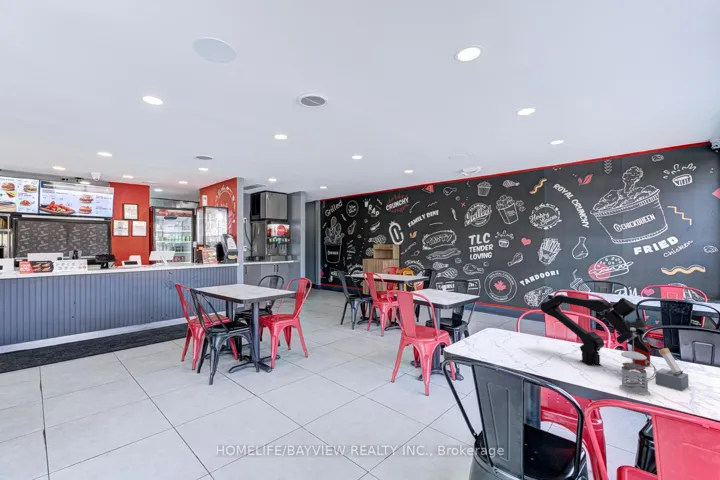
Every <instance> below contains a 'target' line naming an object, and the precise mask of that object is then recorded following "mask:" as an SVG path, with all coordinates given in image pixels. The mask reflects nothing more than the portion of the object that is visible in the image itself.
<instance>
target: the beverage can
mask: <svg viewBox="0 0 720 480" xmlns="http://www.w3.org/2000/svg"><path fill="white" fill-rule="evenodd" d="M643 341H644V342H645V344H646V345H647V347H648V349H649V350H650V352H649V353H647V352H645V351H642V350H640V349H638V348H636V347H634V351H635V352H638V353H640V354H643V355H644V356H646V357H647V359H646V360H647V361H646V360H635V359H634V364H639V365H641V366H644V367H648V366H650V365H651V364H650V363H649V362H651V344H650V342H649V340H646V339H643ZM631 351H633V346H632V345H631ZM631 360H632V362H633V359H631ZM645 361H646V362H647V365H646V364H645ZM648 361H649V362H648Z"/></svg>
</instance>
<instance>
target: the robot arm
mask: <svg viewBox="0 0 720 480" xmlns="http://www.w3.org/2000/svg"><path fill="white" fill-rule="evenodd" d="M562 304H569V305H573V306H579V307H584V308H586V309H589V310H591V311H593V312H596V313H599V317H598V320H600V321H602V320H606V321H607V322H608V323H609V324H610V325H611V326H612V329H613V331H615V330H616V331H617V332H618V333H619V334H620V335H618V336H616V342H617V343H619V345H621V344H624V343H625V342H626V341H627V342H626V345H630V346H631V347H632V346H633V335H634V347H636V348H638V349H640V350H642V351H645V352H647V353H649V352H650V353H651V349H650V350H649V349H648V347H647V345H646V344H645V342H644V341H643V340H644V334H645V333H647V332H648V331H647V330H646V329H645V328H646V327H648V324H647V320H645V319H643V318H642V317H637V318H635V320H634V321H630V320H628V319H625V318H623V316H624V317H627V316H628V317H629V315H631V314H632V313H633V312H635V311H637V310H638V307H637V306H636V305H635V304H634V303H633V302H631V301H630V300H628V299H626V297H621V298H620V299H619V300H618V301H617V302H615V303H611V302H609V301H608V300H606V299H602V298H601V299H600V298H599V299H598V298H597V299H596V298H594V299H593V298H591V299H590V298H589V299H586V298H582V297H577V296H570V295H564V294H557V295H555V296H554V297H552V298H550V299H549V300H547V301H544V302H542V303H541V304H540V310H541V312H543V313H544V314H546V315H548V316H550V317H552V318H555V319H556V320H558V322H560V323H561V324H562V325H564V326H565V327H566V328H567V329H568V330H570V331H571V332H573V333H574V334H575V335H576V336H577V337H578V338H579V339H580V341H581V343H582V345H580V346H579V349H580V352H581V360H579V362H581V363H583V364H585V365H586V366H591V367H592V366H596V367H599V366H602V364H601V363H600V362H601V360H600V359H601V358H600V357H601V356H600V350H601V349H602V348H603V347H604V346H605V343H604V342H605V341H604V339H603V338H602V336H600V335H599V334H597V333H596V332H595V331H593V330H592V331H588V330H586V329H584V327H582V326H581V325H579V324H578V323H577V322H575V321H574V320H573V319H571V318H570V317H569V316H567V314H565V313H563V312H562V310H561V308H560V306H561V305H562ZM603 312H604V313H603ZM630 328H635V329H636V331H631V330H630Z"/></svg>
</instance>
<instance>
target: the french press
mask: <svg viewBox="0 0 720 480" xmlns="http://www.w3.org/2000/svg"><path fill="white" fill-rule="evenodd" d="M630 330H631V331H636V329H635V328H630ZM620 356H621V357H623V358H626V359H630V360H632V359H633V361H632V362H622V366H621V384H620V385H618V388H619V389H620V390H622V391H623V392H626V393H629V394H633V395H637V396H651V392H650V391H649V389H648V388H649V385H648V384H649V383H648V381H653V380H654V379H655V377H656V374H657V373H656V371H657V369H656V366H655V365H654V364H653V363H652V362H651V361H650V362H649V361H648V362H649V363H650V365H652V367H653V370H654V373H653V375H652V376H651V377H647V375H648V373H647V371H646V366H641V365H639V364H635V363H634V359H635V360H646V359H647V357H646V356H644V355H643V354H640V353H638V352H635V351H634V335H633V351H632V350H628V351H627V350H626V351H623V352H621V353H620ZM646 361H647V360H646ZM646 361H645V364H646V365H647V362H646Z"/></svg>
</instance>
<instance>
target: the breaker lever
mask: <svg viewBox="0 0 720 480" xmlns="http://www.w3.org/2000/svg"><path fill="white" fill-rule="evenodd" d="M658 352H659V354H660V355H661V356H662V358H663V360H664V361H665V362H666V364H667V365H668V367H669V370H672V372H673V373H674V372H675V373H677V374H680V373H681V372H682V371H683V370H682V368H681V367H680V366H679V364H678V363H677V361H676V359H675V358H674V357H673V355H672V353H671V351H670V349H669V348H668V347H665V348H662V349H659V350H658ZM680 370H681V371H680Z"/></svg>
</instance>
